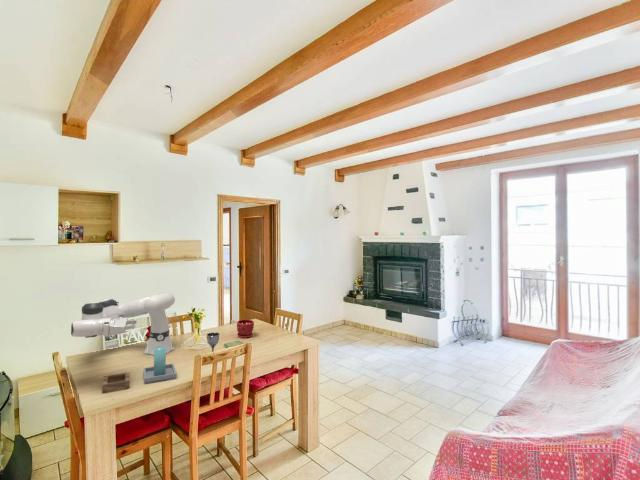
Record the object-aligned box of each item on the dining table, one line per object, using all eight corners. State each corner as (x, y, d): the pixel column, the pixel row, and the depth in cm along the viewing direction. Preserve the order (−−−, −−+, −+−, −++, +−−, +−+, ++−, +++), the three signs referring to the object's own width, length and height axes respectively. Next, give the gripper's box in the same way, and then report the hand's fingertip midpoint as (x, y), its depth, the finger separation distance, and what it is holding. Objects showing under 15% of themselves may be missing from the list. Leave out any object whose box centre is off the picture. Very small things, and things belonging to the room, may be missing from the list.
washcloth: (235, 353, 232) (235, 349, 232) (222, 347, 245) (222, 342, 245) (251, 349, 242) (252, 344, 242) (238, 343, 254) (238, 338, 254)
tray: (143, 373, 197) (143, 368, 197) (173, 368, 205) (173, 363, 204) (144, 384, 183) (144, 378, 183) (176, 378, 191) (176, 373, 191)
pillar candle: (151, 374, 193) (152, 348, 193) (161, 371, 198) (162, 345, 197) (157, 377, 189) (157, 350, 189) (167, 373, 194) (168, 347, 194)
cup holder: (103, 383, 182) (103, 376, 182) (129, 379, 188) (129, 372, 188) (102, 393, 172) (102, 385, 172) (129, 388, 178) (129, 380, 177)
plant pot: (233, 338, 265) (233, 322, 264) (242, 333, 277) (242, 318, 277) (248, 339, 261) (248, 324, 261) (256, 335, 274) (256, 320, 273)
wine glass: (220, 354, 229) (220, 332, 228) (217, 359, 221) (217, 336, 220) (208, 354, 229) (208, 332, 228) (204, 358, 221) (205, 335, 220)
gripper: (109, 327, 194) (136, 324, 200) (104, 337, 175) (134, 334, 181) (109, 316, 194) (137, 314, 200) (104, 325, 175) (134, 323, 181)
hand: (136, 324), depth 190 cm, fingers open, 8 cm apart
